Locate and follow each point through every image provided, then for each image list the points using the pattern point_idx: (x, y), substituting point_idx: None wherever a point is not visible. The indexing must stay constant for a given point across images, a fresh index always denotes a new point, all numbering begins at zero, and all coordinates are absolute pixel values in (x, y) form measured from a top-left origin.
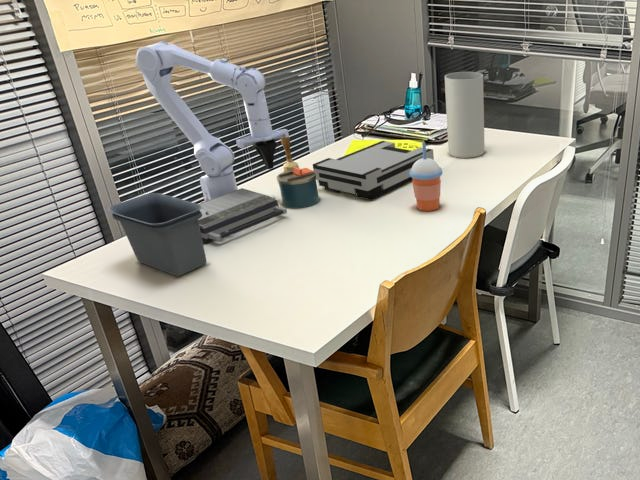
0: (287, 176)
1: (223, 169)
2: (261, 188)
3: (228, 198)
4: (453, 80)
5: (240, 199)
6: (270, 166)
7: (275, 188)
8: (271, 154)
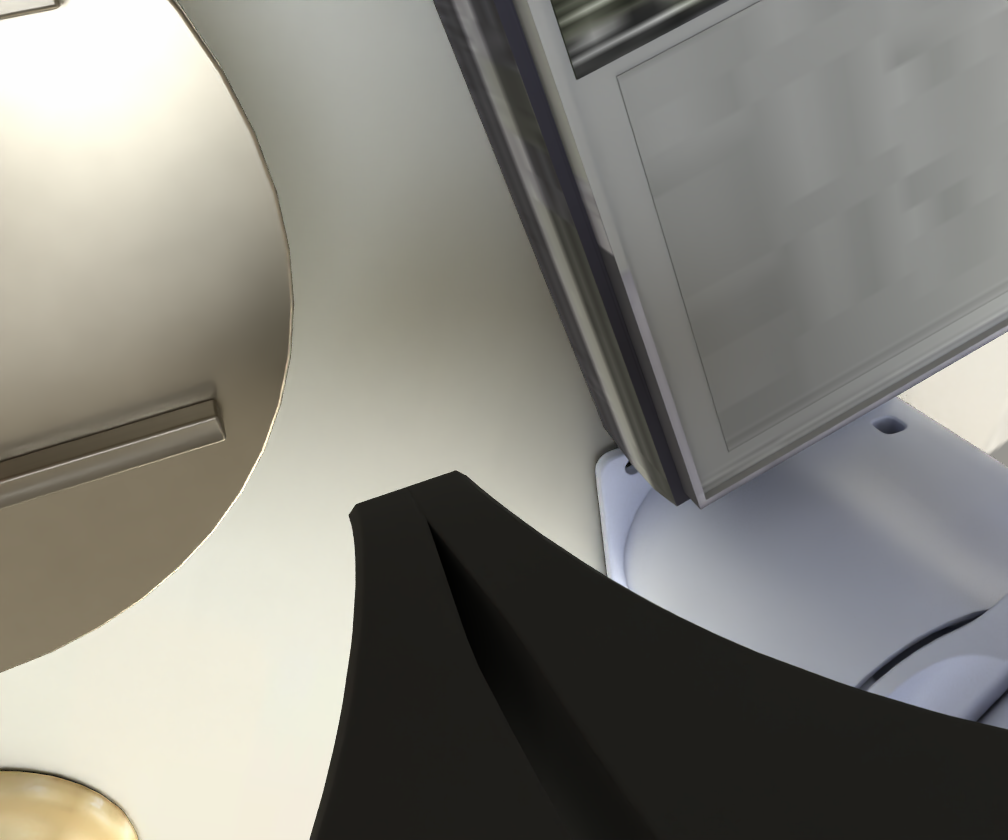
0: (31, 339)
1: (989, 714)
2: None
3: (947, 232)
4: None
5: (874, 101)
6: (434, 502)
7: (221, 729)
8: (443, 737)
